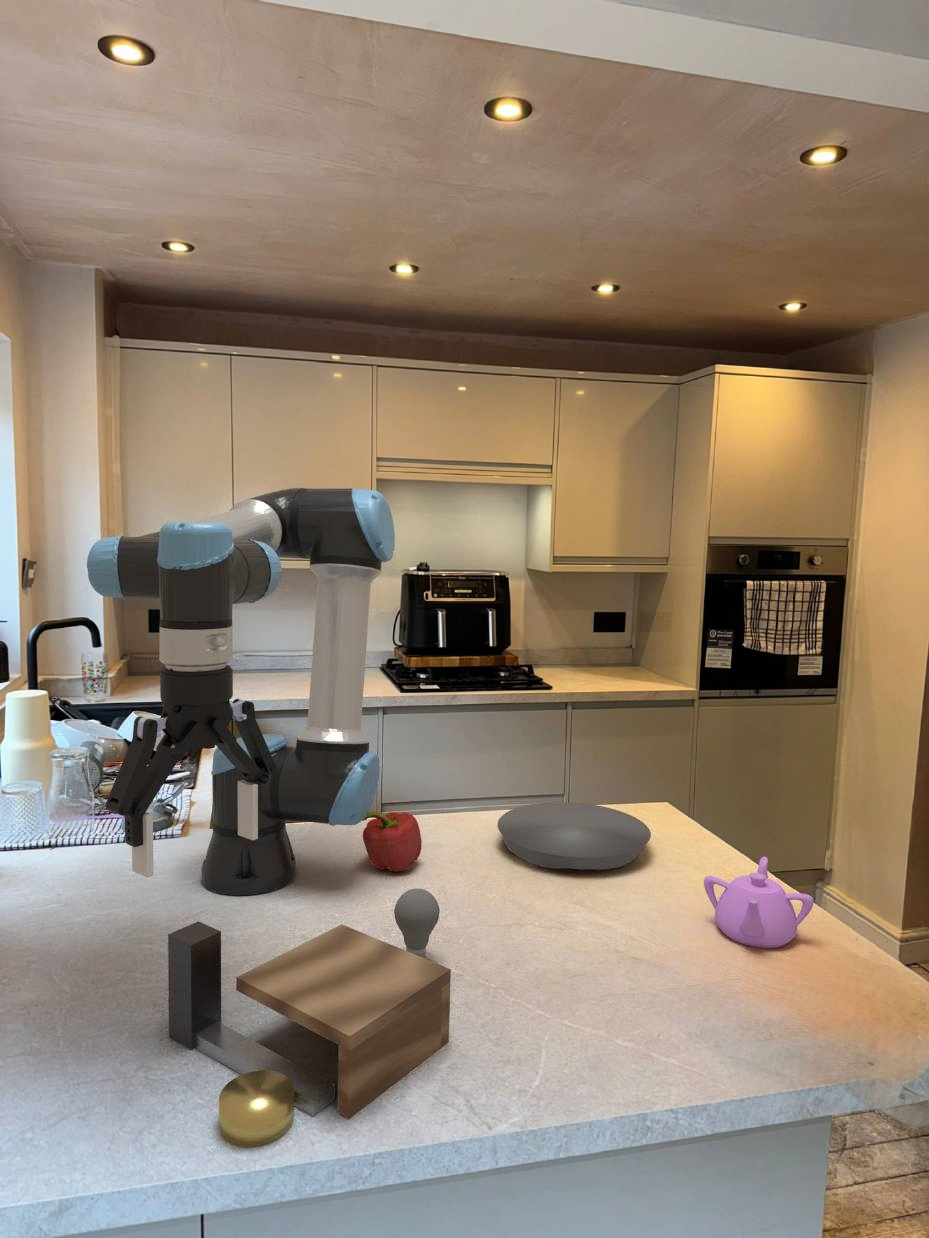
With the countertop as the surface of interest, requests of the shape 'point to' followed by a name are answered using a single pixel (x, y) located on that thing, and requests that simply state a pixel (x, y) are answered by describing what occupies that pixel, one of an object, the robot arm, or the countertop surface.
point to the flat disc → (573, 835)
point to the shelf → (359, 1006)
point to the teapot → (757, 909)
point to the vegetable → (392, 840)
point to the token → (256, 1108)
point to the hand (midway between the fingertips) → (198, 854)
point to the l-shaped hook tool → (200, 1017)
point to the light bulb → (416, 919)
